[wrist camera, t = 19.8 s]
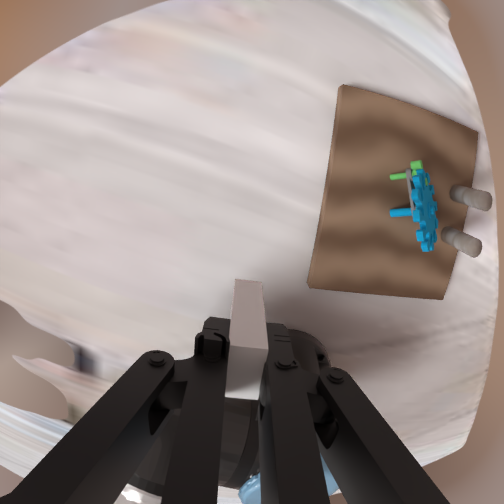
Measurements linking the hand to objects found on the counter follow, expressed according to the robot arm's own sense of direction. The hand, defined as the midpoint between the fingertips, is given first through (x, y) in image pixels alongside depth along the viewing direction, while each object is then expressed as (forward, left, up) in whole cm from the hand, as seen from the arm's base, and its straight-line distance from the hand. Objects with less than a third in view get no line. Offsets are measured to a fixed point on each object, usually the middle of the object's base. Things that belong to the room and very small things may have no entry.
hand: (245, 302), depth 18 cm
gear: (+6, -21, -21) cm, 30 cm away
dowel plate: (+6, -20, -22) cm, 31 cm away
